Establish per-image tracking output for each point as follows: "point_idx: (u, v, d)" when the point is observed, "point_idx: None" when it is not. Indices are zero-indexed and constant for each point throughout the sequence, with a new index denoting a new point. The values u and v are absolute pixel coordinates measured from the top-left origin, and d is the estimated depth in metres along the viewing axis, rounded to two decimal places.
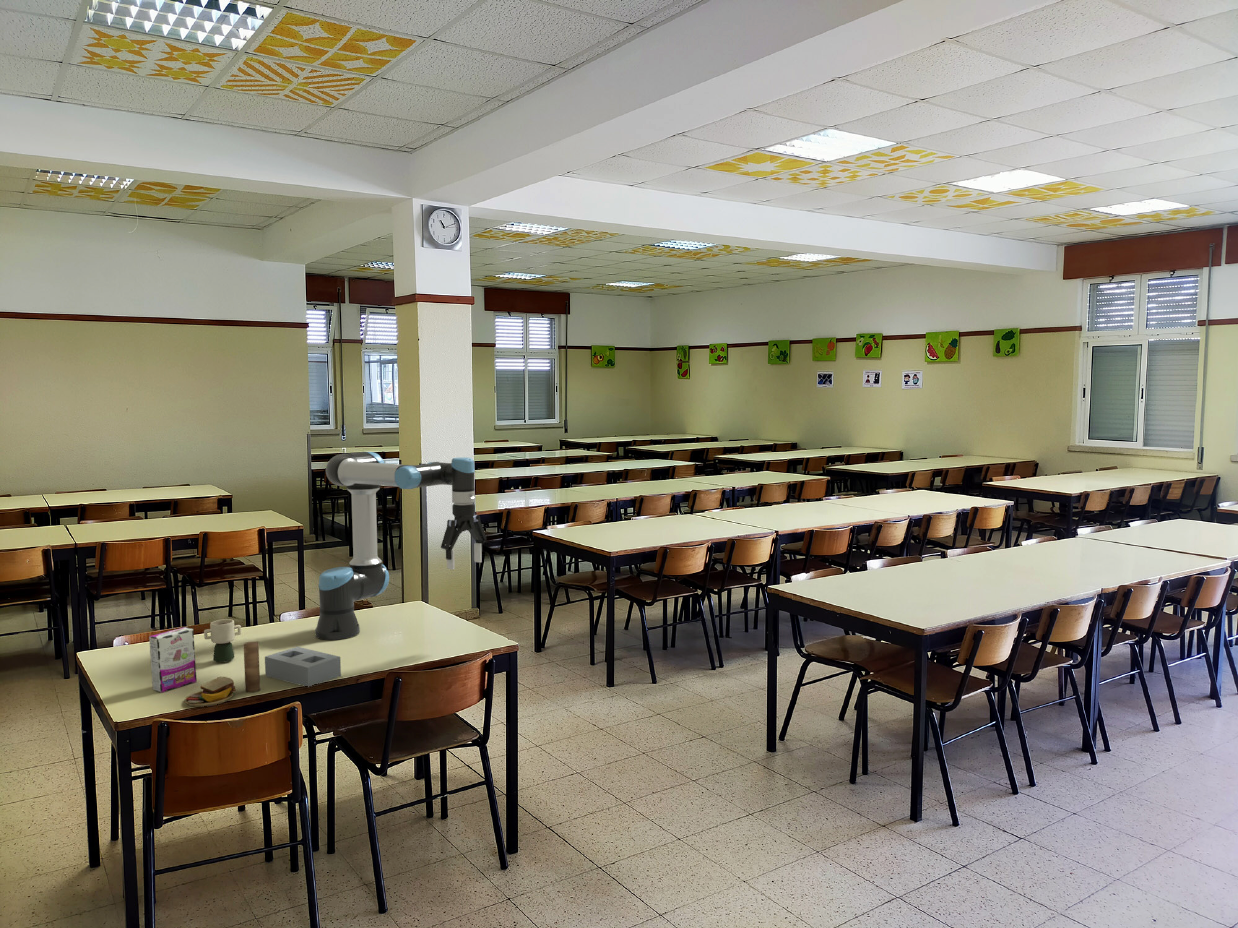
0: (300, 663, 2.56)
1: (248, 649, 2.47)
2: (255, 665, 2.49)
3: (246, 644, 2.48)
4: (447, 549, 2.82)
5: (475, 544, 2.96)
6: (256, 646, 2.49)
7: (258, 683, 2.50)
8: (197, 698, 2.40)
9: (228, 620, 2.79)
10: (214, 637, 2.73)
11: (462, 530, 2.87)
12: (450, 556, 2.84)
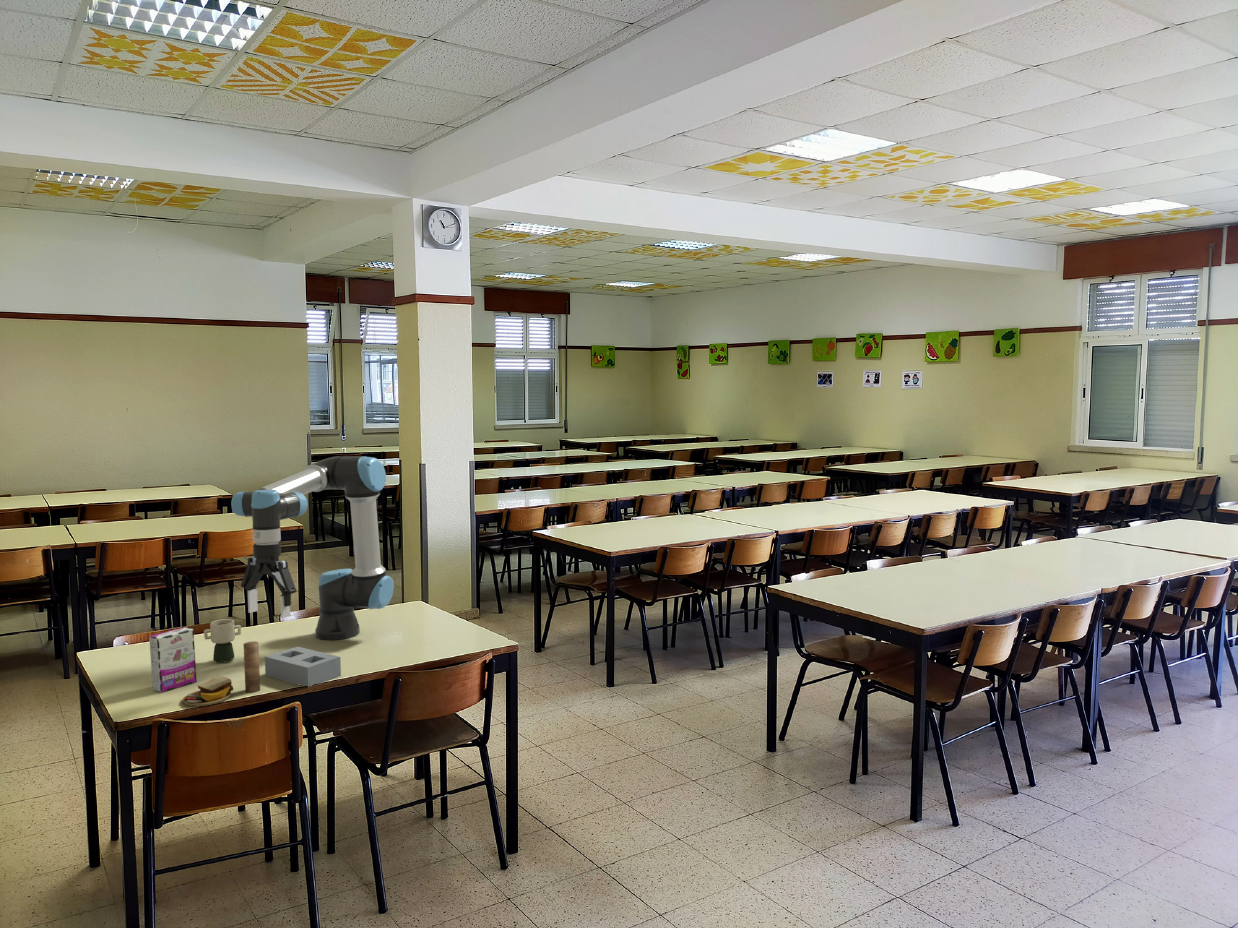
0: (300, 663, 2.56)
1: (248, 649, 2.47)
2: (255, 665, 2.49)
3: (246, 644, 2.48)
4: (245, 588, 2.55)
5: None
6: (256, 646, 2.49)
7: (258, 683, 2.50)
8: (195, 698, 2.41)
9: (228, 620, 2.79)
10: (214, 637, 2.73)
11: (256, 572, 2.50)
12: None
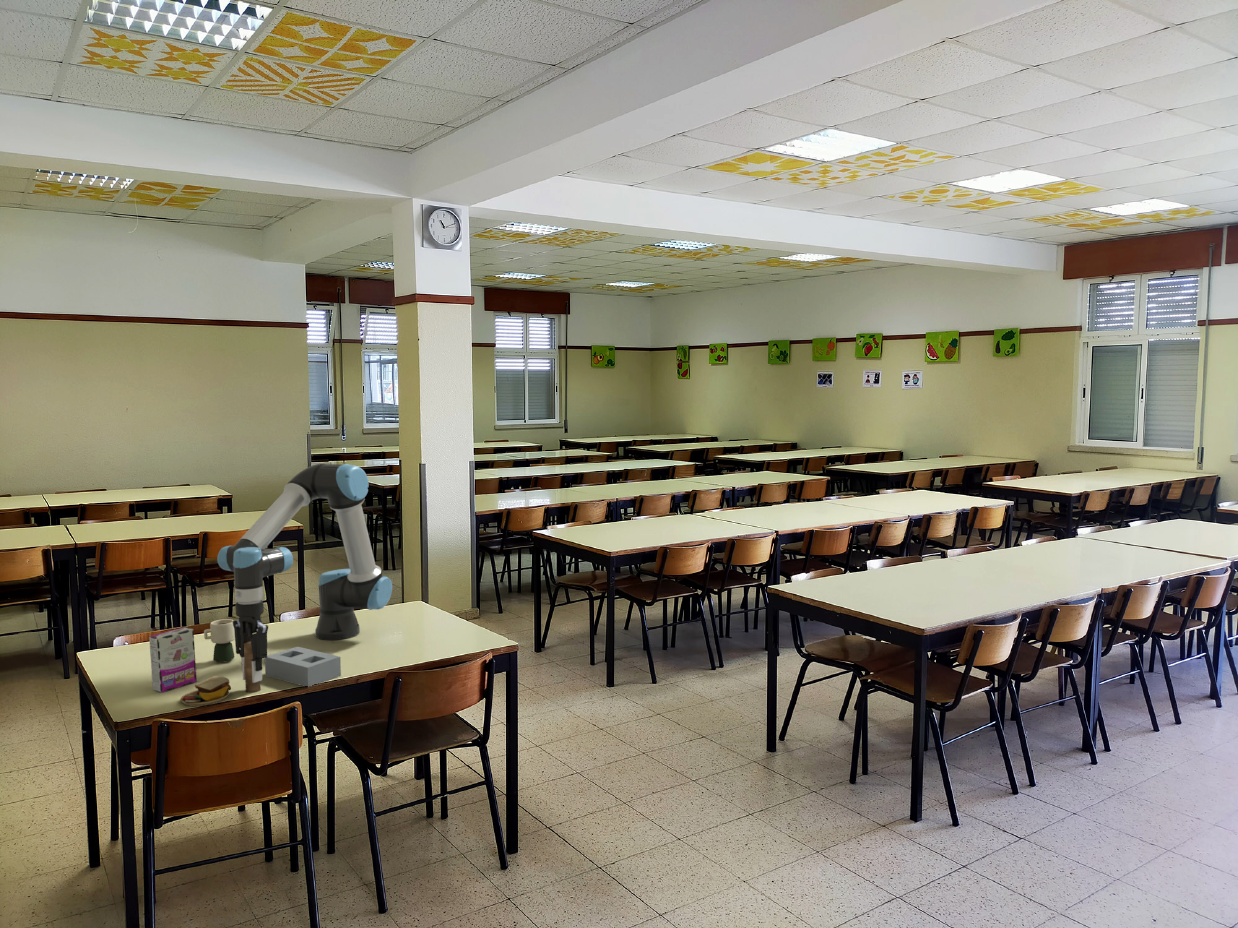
0: (300, 663, 2.56)
1: (248, 649, 2.47)
2: None
3: (246, 644, 2.48)
4: (240, 654, 2.51)
5: None
6: None
7: (258, 683, 2.50)
8: (193, 697, 2.41)
9: (228, 620, 2.79)
10: (214, 637, 2.73)
11: (242, 632, 2.48)
12: None
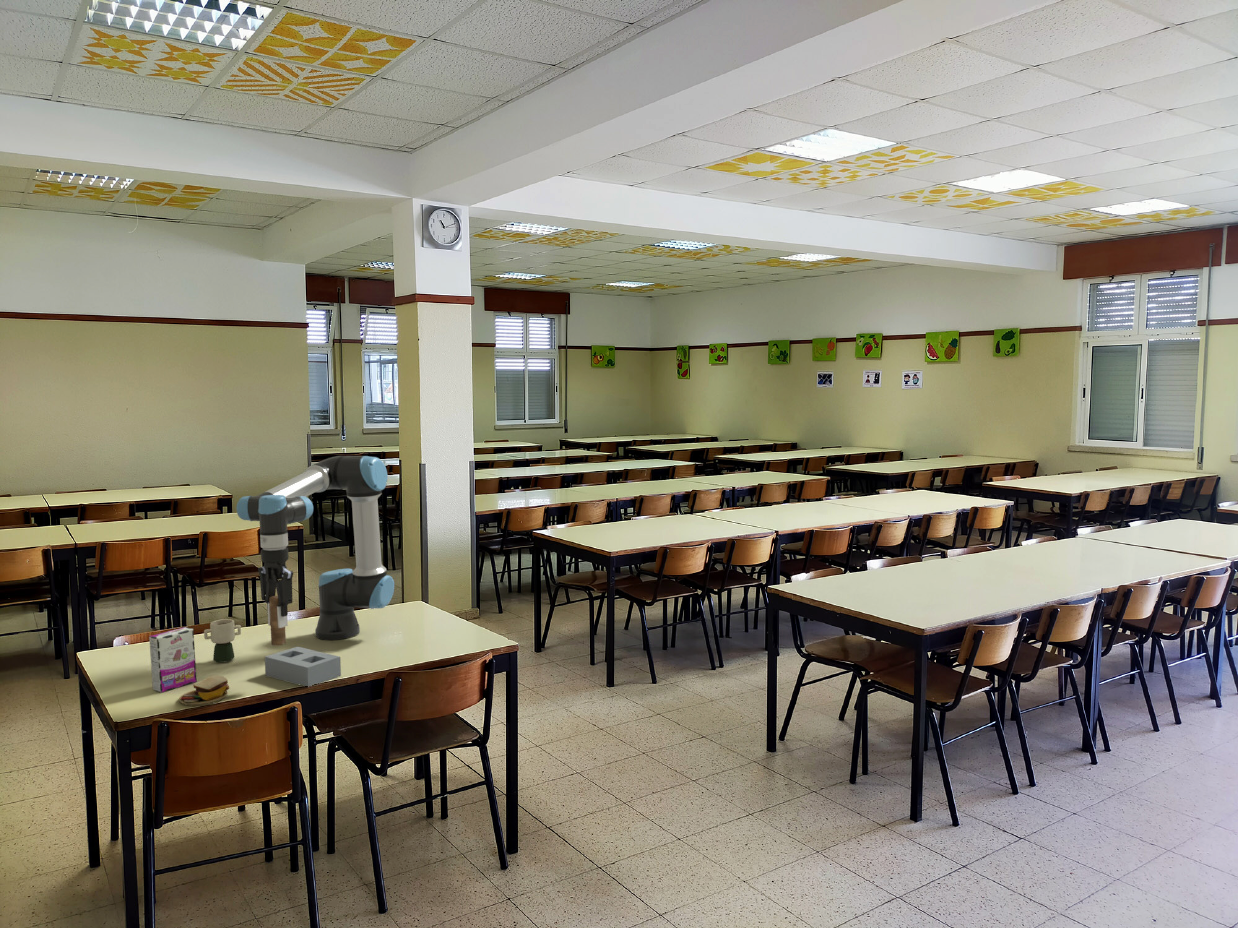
0: (300, 663, 2.56)
1: (274, 603, 2.51)
2: None
3: (272, 598, 2.52)
4: None
5: None
6: None
7: (284, 636, 2.53)
8: (192, 697, 2.41)
9: (228, 620, 2.79)
10: (214, 637, 2.73)
11: (267, 578, 2.52)
12: None
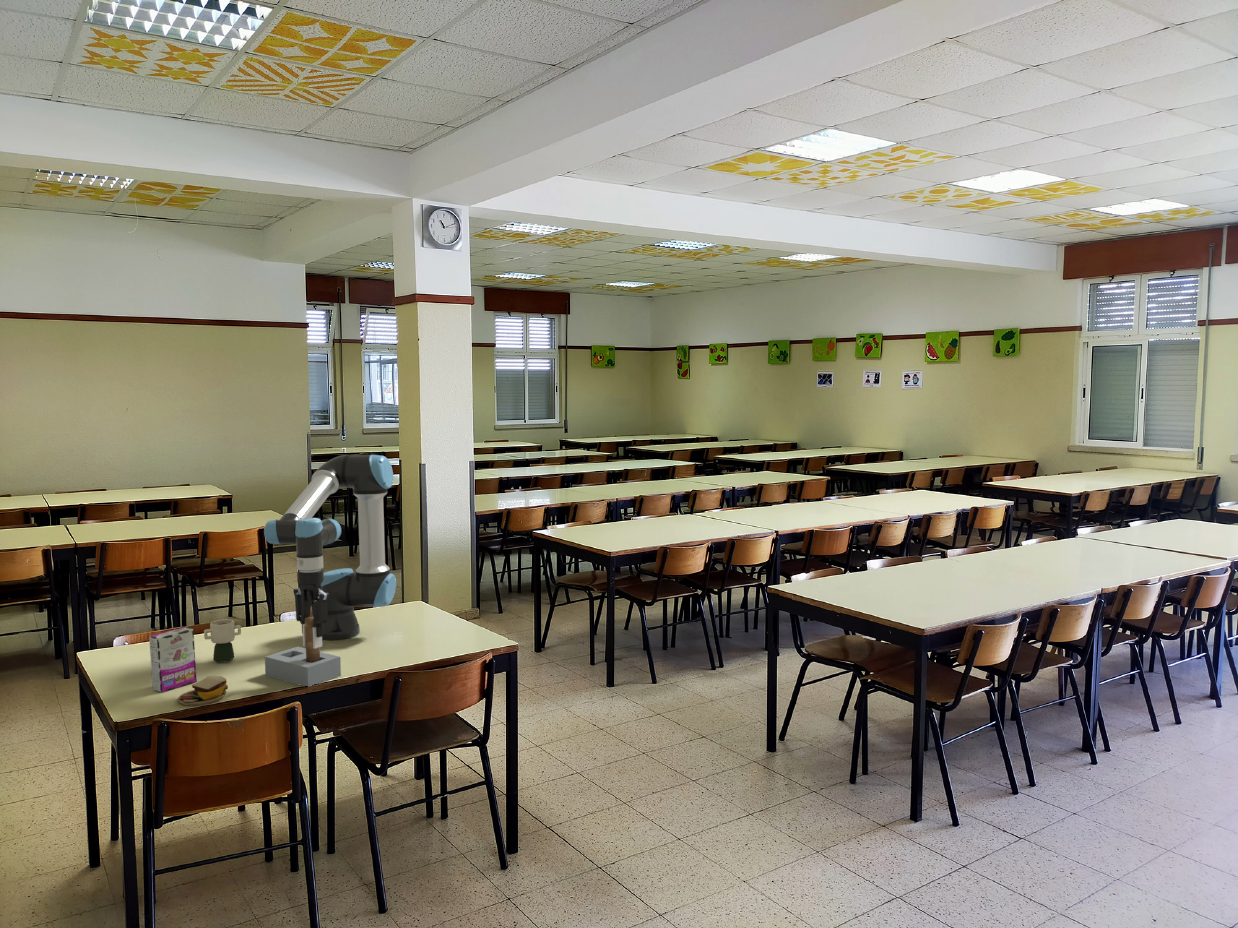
0: (300, 663, 2.56)
1: (309, 624, 2.57)
2: None
3: (307, 619, 2.58)
4: (300, 621, 2.61)
5: None
6: None
7: (318, 656, 2.59)
8: (191, 697, 2.41)
9: (228, 620, 2.79)
10: (214, 637, 2.73)
11: (303, 600, 2.58)
12: None
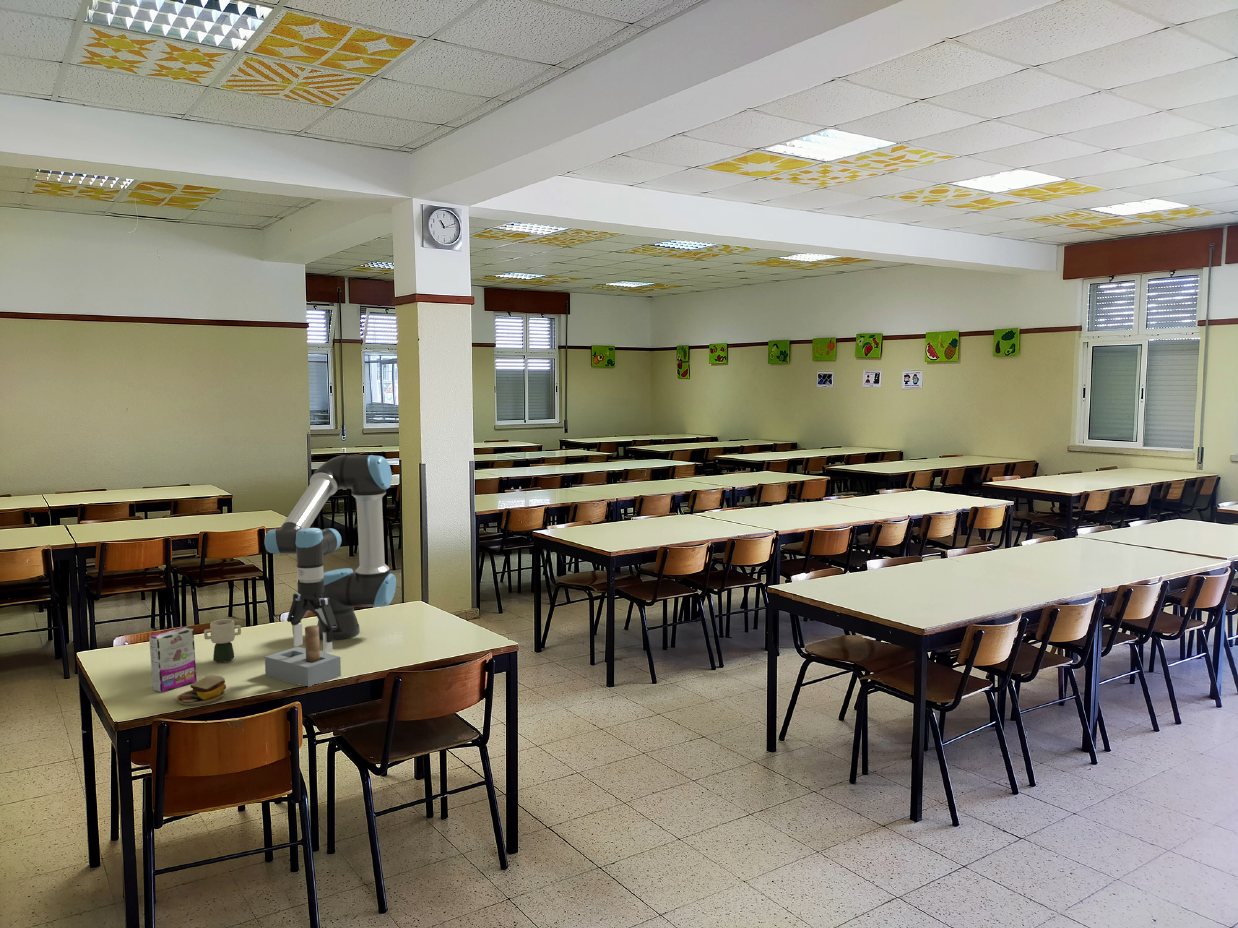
0: (300, 663, 2.56)
1: (309, 633, 2.57)
2: (316, 648, 2.58)
3: (307, 628, 2.58)
4: None
5: None
6: (317, 630, 2.58)
7: None
8: (190, 697, 2.41)
9: (228, 620, 2.79)
10: (214, 637, 2.73)
11: (300, 608, 2.59)
12: None
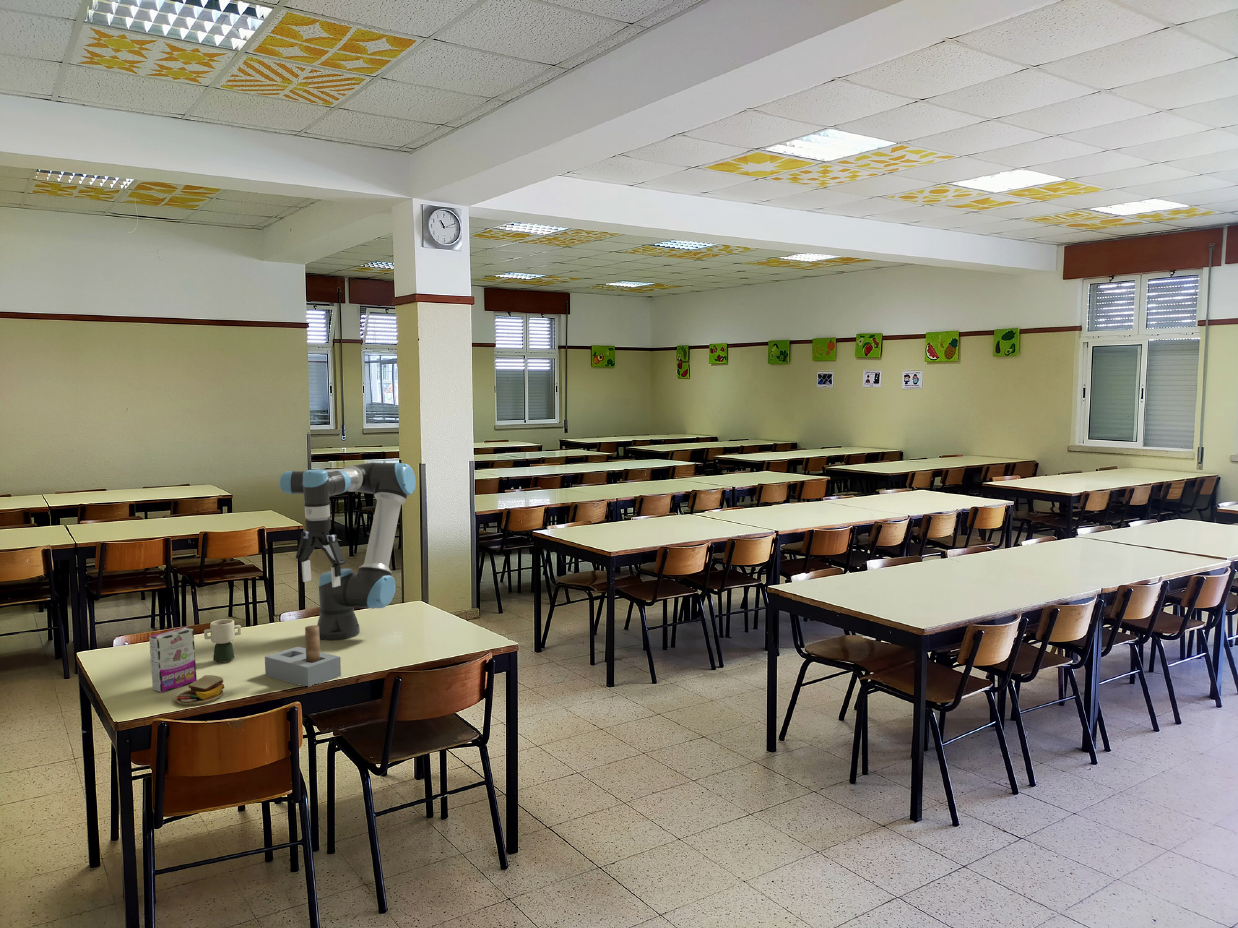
0: (300, 663, 2.56)
1: (310, 632, 2.57)
2: (316, 648, 2.58)
3: (308, 627, 2.58)
4: (299, 559, 2.77)
5: None
6: (317, 629, 2.58)
7: None
8: (188, 697, 2.41)
9: (228, 620, 2.79)
10: (214, 637, 2.73)
11: (309, 545, 2.72)
12: None
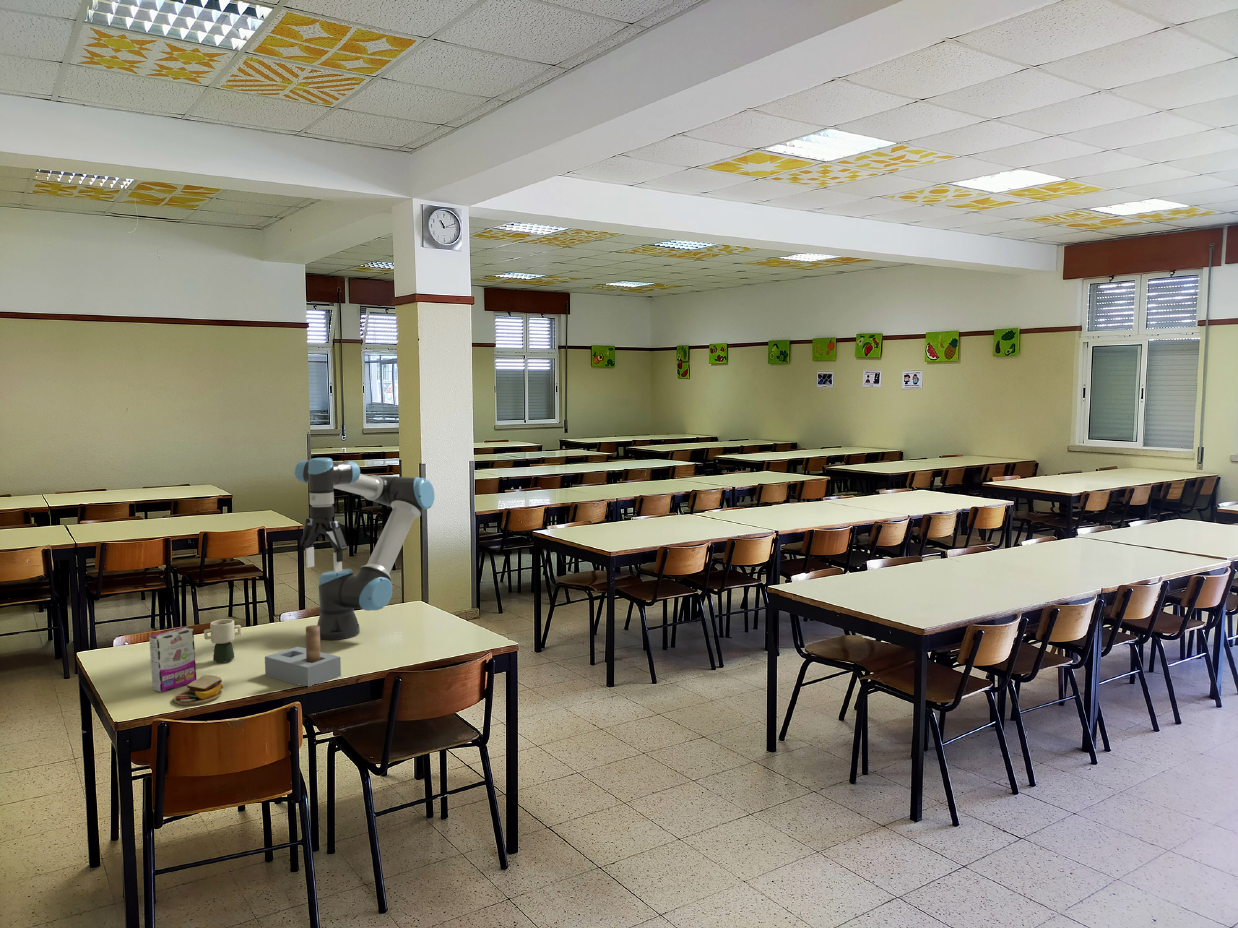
0: (300, 663, 2.56)
1: (310, 632, 2.57)
2: (317, 648, 2.58)
3: (308, 627, 2.58)
4: None
5: None
6: (318, 629, 2.59)
7: None
8: (187, 697, 2.41)
9: (228, 620, 2.79)
10: (214, 637, 2.73)
11: (313, 531, 2.80)
12: None
